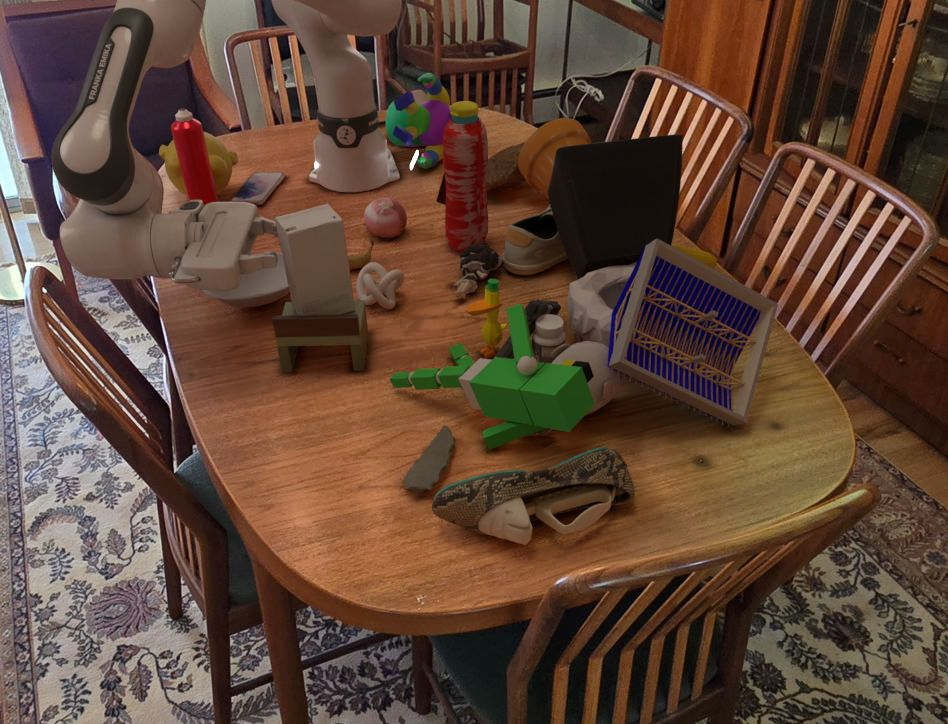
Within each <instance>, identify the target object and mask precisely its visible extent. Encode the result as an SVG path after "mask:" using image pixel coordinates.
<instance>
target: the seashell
mask: <svg viewBox="0 0 948 724" xmlns="http://www.w3.org/2000/svg"><path fill="white" fill-rule="evenodd" d="M525 142H526V141H523V142H521V143H518V144H516V145H511V146H508V147H506V148H504V149H502V150H500V151H498V152H497V153H494V154H493V155H491V156H490V157H488V166H487V177H486V193H487V192H489V191H490V190H492V189H495V188H497V189H507V188H512V187H517V186H520V185H522V184H523V183H527V181H526V180H525V178H524V177H523V175H522V174H521V172H520V170H519V166H518V158H519V154H520V151H521V149H522V147H523V145H524V143H525Z"/></svg>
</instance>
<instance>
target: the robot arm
mask: <svg viewBox="0 0 948 724" xmlns="http://www.w3.org/2000/svg"><path fill="white" fill-rule="evenodd" d="M270 1H271V4H272V7H273V9H274V12H275V14H276V15H277V17H278V18H279V19H280V20H281V21H283V22H284V23H285V25H287V26H288V27H289V29H290V31H292V32H293V34H294V35H295V36H296V38H297V40H298V42H299V43H300V45H301V46H302V48H303V51H304V52H305V55H306V56H307V59H308V61H309V64H310V67H311V70H312V74H313V80H314V86H315V93H316V98H317V106H318V109H316V114H317V115H316V120H317V126H318V130H319V133H318V134H317V135H316V136H315V138H314V139H313V141H312V143H313V144H312V145H313V154H314V167H313V169H312V171H311V172H309V174H308V181H309V182H311V183H315V184H319V185H321V186H322V187H324V188H325V189H327V190H330V191H334V192H338V193H339V192H340V193H360V192H361V193H362V192H367V191H371V190H375V189H378V188H380V187H382V186H384V185H386V184H388V183H391V182H394V181H397V180H399V179H400V178H401V176H400V172H399V169H398V166H397V164H396V161H395V159H394V156H393V154H392V152H391V150H390V149H389V148H388V140H387V138H386V137H385V135H384V133H383V131H382V130H381V129H380V127H379V126H383V125H386V120H381V121H379V120H380V115H379V112H378V107H377V105H376V102H375V89H374V79H373V70H372V67H371V64H370V62H369V61H368V60H367V58H366V57H365V56H364V55H362V54H361V53H360V52H359V51H358V50H357V49H356V48H355V47H354V46H353V44H352V43H351V42H350V39H349V38H348V36H355V37H361V38H366V37H376V36H377V37H378V36H383V35H388V34H390V33H391V32H392V31H393V30H394V29H395V27H396V26H397V24H398V22H399V20H400V17H401V13H402V0H270ZM206 4H207V0H116V3H115V6H114V10H113V12H112V13H111V14H110V15H109V16H108V18H107V20H106V21H105V23H104V25H103V27H102V30H101V32H100V34H99V37H98V40H97V42H96V45H95V48H94V50H93V51H94V52H93V54H92V58H91V60H90V64H89V67H88V70H87V73H86V75H85V79H84V82H83V85H82V88H81V91H80V95H79V97H78V100H77V103H76V105H75V108H74V110H73V112H72V113H71V115H70V117H69V118H68V120H67V121H66V122H65V123H64V125H63V126H62V128H61V129H60V130H59V132H58V133H57V134H56V137H55V140H54V142H53V144H52V148H51V157H50V159H51V160H50V161H51V167H52V170H53V173H54V176H55V178H56V180H57V181H58V183H59V185H60V186H61V187H62V188H63V189H64V190H65V191H66V192H67V193H69V194H70V195H71V196H74V197H75V198H77V199H79V200H78V202H77V204H76V206H75V208H74V209H73V210H72V212H71V213H70V215H69V216H68V217H67V218H66V219H64V221H62V222H61V224H60V226H59V234H58V235H59V243H60V247H61V249H62V252H63V255H64V256H65V258H66V259H67V261H68V263H69V264H70V266H71V267H72V268H73V269H74V270H76V271H77V272H78V273H80V274H81V275H83V276H86V277H89V278H95V279H102V280H103V279H105V280H106V279H107V280H137V279H141V278H143V277H153V278H154V277H155V278H158V279H162V280H163V279H170V280H171V281H172V282H174V283H175V284H176V285H186V286H187V287H188V288H190V289H195V290H201V289H203V290H222V291H227V290H232V289H235V288H237V287H238V286H239V284H240V281H241V278H242V275H243V274H250V273H253V272H256V271H259V270H262V269H264V268H276V266H277V262H278V259H277V254H276V252H277V251H273V250H272V251H262V253H263V254H261V255H255V256H250V254H252V250H253V248H254V245H255V243H256V240H257V238H258V236H264V235H265V234H267V235H273V237H274V238H279V237H278V232H277V227H276V222H275V221H274V220H272V219H269V218H267V217H264V216H261V217H260V213H259V209H258V205H253V204H251V203H246V202H230V201H219V202H212V203H208V204H206V205H205V206H204V204H203V201H202V200H190V201H188V200H187V201H186V202H185V203H183V204H182V205H181V206H179V207H177V208H175V209H173V210H170V211H168V212H167V213H165V212H163V213H162V211H163V205H164V192H165V191H164V190H165V189H164V183H163V179H162V178H161V177H162V176H161V175H160V173H159V172H158V170H157V169H156V168H155V166H154V165H153V164H152V163H151V162H150V160H148V159H147V158H146V157H145V156H144V155H142V153H141V152H139V151H138V150H137V149H136V148H135V147H134V145H133V142H132V140H131V136H130V121H131V118H132V114H133V112H134V109H135V105H136V101H137V99H138V97H139V96H138V95H139V92H140V89H141V86H142V82H143V80H144V78H145V75H146V73H147V72H148V71H149V69H151V68H158V69H172V68H176V67H178V66H181V65H182V64H184V63H186V62H187V61H188V60H189V59H190V58H191V56H192V55H193V52H194V50H195V47H196V45H197V43H198V40H199V36H200V34H201V29H202V24H203V20H204V16H205V10H206V6H207V5H206ZM400 96H401V95H396V97H395V98H396V99H398V98H399V97H400ZM396 99H395V100H396ZM418 157H419V150H418V149H416V151H415V153H414V155H413V157H412V160H411V162H410V164H409V169H410V171H412V170H413V168H414V166H415V164H416V162H415V161H416V159H418ZM249 256H250V257H249Z"/></svg>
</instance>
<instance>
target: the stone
mask: <svg viewBox="0 0 948 724" xmlns="http://www.w3.org/2000/svg"><path fill="white" fill-rule="evenodd" d="M455 443H456V438H455V437H454V436H453V433H452V431H451V429H450V427H449V426H448V425H443V426H442V427H441V429H440V431H438V432H437V433H436V436H435V437H434V438H433V439H432V440H431V441H430V443H429V445H428V447H427V448H426V449H425V451H424V452H423V453H422V454H421V455H420V457H419V459H417V460H416V461H415V462H413V465H412V466H411V467H410V468H409V470H408V471H407V472H406V475H405V476H404V477H403V479H402V483H403V484H404V488H405V490H408V491H410V492H411V493H415V494H420V493H423V492H424V491H425V490H432V489H433V486H434V485H436V484H438V482H439V481H440V479H441V476H442V474H443V473H444V472H445V471H446V470H447V469H448V468H449V464H450V462H451V460H450V457H451V455H452V453H453V452H454V449H455V447H456V445H455Z"/></svg>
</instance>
